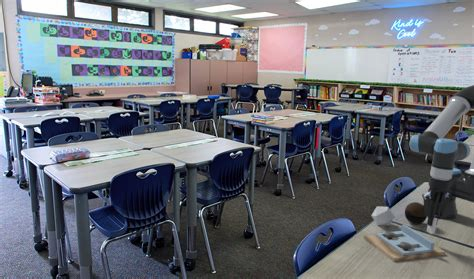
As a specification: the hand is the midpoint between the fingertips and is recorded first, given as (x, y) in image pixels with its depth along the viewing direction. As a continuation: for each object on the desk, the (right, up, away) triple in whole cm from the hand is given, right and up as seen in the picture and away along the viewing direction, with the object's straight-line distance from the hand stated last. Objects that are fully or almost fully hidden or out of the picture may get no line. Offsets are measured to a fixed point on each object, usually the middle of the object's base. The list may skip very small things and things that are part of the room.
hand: (430, 232), depth 147 cm
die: (-13, -1, +17) cm, 22 cm away
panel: (-12, -4, -3) cm, 13 cm away
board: (-12, -5, -2) cm, 14 cm away
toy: (+3, -1, +20) cm, 20 cm away
